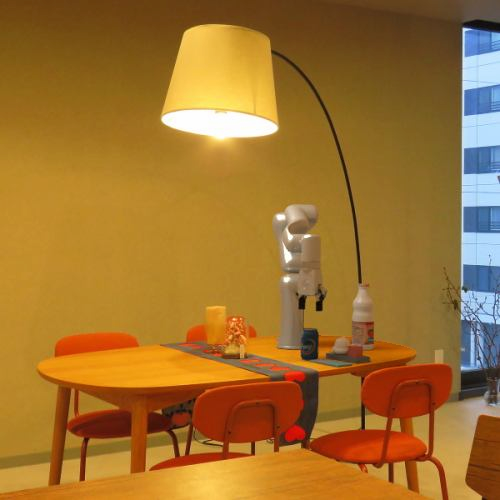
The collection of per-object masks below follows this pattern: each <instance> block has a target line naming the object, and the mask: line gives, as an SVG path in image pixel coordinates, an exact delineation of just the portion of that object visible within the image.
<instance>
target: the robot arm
mask: <svg viewBox="0 0 500 500" xmlns="http://www.w3.org/2000/svg"><path fill="white" fill-rule="evenodd" d="M319 216H320V215H319V210H318V208H317V207H316V206H315V205H313V204H297V203H296V204H290V205H288V206H287V207H286V208H285V210H284V211H282V212H277V213H275V214H274V215H273V217H272V232H273V235H274V237H275V239H276V243H277V245H278V252H279V253H278V254H279V260H280V261H279V262H280V267H281V268H280V269H281V271H282V272H283V273H284V274H283V275H282V276H281V277H280V278H279V280H278V286H279V294H280V335H279V336H278V337H276V338H275V340H276V341H278V343H277V344H276V347H277V348H279V349H283V350H301V332H302V330H303V309H306V303H305V299H304V298H305V296H307V297H315V299H316V301H315V311H316V312H323V310H324V307H323V306H324V304H323V303H324V302H325V298H326V297H327V293H328V289H327V288H326V287H324V284H323V283H324V282H323V279H324V278H323V273H322V267H321V264H322V262H321V261H322V257H321V256H322V254H321V253H322V252H321V251H322V237H321V236H320V235H318V234H311V233H310V234H309V233H308V232H310V231H311V230H312V229H313V228H314V227H315V226H316V225H317V223H318V222H319V218H320V217H319ZM307 233H308V234H307Z"/></svg>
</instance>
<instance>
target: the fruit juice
mask: <svg viewBox="0 0 500 500" xmlns="http://www.w3.org/2000/svg"><path fill="white" fill-rule="evenodd" d="M357 288H358V291H357V294H356V297H355V298H354V299H353V301H352V308H353V312H352V314H351V315H352V316H351V344H352V345H360V346H363V351H371V350H373V349H374V347H375V343H374V342H375V339H374V338H375V314H374V307H375V302H374V300H373V299H372V297H371V295H370V291H369V288H370V283H357Z"/></svg>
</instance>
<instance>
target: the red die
mask: <svg viewBox="0 0 500 500" xmlns="http://www.w3.org/2000/svg"><path fill="white" fill-rule="evenodd" d="M363 355H364V350H363V346H360V345H352V343H350V345H348V356H352V357H361V356H363Z"/></svg>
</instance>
